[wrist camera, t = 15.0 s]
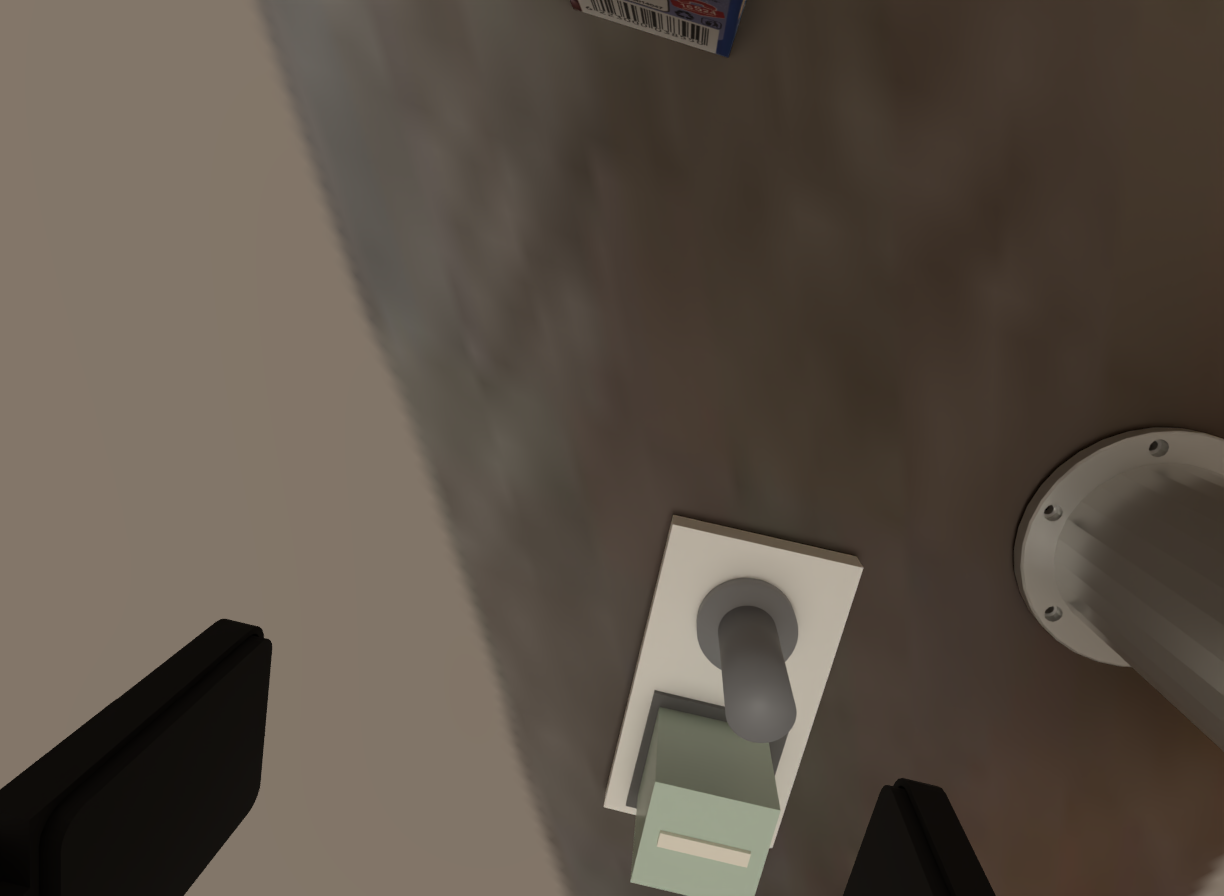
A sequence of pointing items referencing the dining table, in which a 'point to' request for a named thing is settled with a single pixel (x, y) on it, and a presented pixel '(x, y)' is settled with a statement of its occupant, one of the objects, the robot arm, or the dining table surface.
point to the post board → (685, 655)
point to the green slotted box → (703, 809)
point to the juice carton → (675, 19)
